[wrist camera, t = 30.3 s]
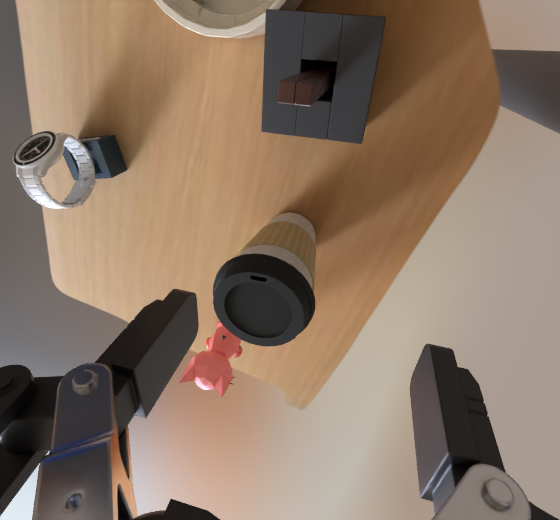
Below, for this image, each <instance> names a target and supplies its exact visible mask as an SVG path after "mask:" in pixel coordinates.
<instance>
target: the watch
mask: <svg viewBox="0 0 560 520" xmlns="http://www.w3.org/2000/svg"><path fill="white" fill-rule="evenodd" d="M62 155H63V156H64V158H65V160H66V163H67V165H68V167H69V169H70V172H71V174H72V176H73V179H74V180H76V182H75V184H74V187H73V189H72V190H71V192H70V193H69V195H68V196H67V197H66V198H65V201H63V202H62V203H60V202H58V201H57V200H55V199H54V198H52V196H51V195H50V194H49V193H48V192H46V189H45V187H44V185H43V184H41V183H42V180H41V177H44V176H45V175H46V173H47V171H48V169H49V168H50V167H52V166H53V165H54V164H55V163H56V162H57V161H58V160H59V159H60V158H61V156H62ZM13 162H14V164H15V165H16V173H17V177H19V179H20V182H21V184H22V185H23V187H24V189H25V191H26V192H27V193H28V195H29V196H30V197H31V198H32V199H33V200H35V201H36V202H37V203H39V204H41V205H43V206H45V207H48V208H54V209H57V208H74V207H77V206H79V205H82V204H83V203H84V202H85V201H86V200H87V199H88V197H89V196H90V194H91V192H92V190H93V188H94V185H95V183H96V180H95V179H102V178H112V177H114V176H116V175H118V174H120V173H122V172H124V171H126V170H127V168H126V166H125V163H124V160H123V157H122V154H121V151H120V149H119V146H118V143H117V140H116V137H115V135H108V136H98V137H89V138H79V139H76V138H75V137H74V136H72V135H69V134H66V133H58V134H55V133H54V132H52V131H44V132H40V133H37V134H35V135H33V136H31V137H29V138H28V139H27V140H25V141H24V142H23V143H22V144H21V145H20V146H19V147H18V148H17V150H16V151H15V153H14V156H13ZM40 176H41V177H40Z"/></svg>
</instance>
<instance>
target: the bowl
mask: <svg viewBox="0 0 560 520" xmlns="http://www.w3.org/2000/svg"><path fill="white" fill-rule="evenodd" d="M302 1H303V0H155V2H156V3H157V4H158V5H159V7H160V8H161V9H162V10H163V11H164V12H165V13H166V14H168V15H169V16H170V17H171V18H173V19H174V20H175V21H176V22H178V23H179V24H180V25H182V26H183V27H185V28H187V29H190V30H192V31H195V32H197V33H199V34H202V35H204V36H213V37H226V38H244V39H245V38H250V37H254V36H258V35H261V34H265V18H266V9H275V10H290V11H295V9H296V8H297V7H298V6H299V5H300V4H301V3H302Z"/></svg>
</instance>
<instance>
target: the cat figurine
mask: <svg viewBox="0 0 560 520" xmlns="http://www.w3.org/2000/svg"><path fill="white" fill-rule="evenodd" d="M240 342H241V341H240V338H238V337H236V336H235V335H233V334H232V333H231V332H230V331H228V330H227V329H226V328H225V327H224V326H223V324H222V323H221V322H219V323H218V324H217V330H216V331H215V333H214V334H213V336H212V337H210V338H207V341H206V347H207V348H208V351H202V352H200V353H198V354H196V355H195V356H194V357H193V359H192V360H191V361H190V362H189V364H188V366H187V368H186V370H185V372H184V374H183V376H182V378H181V380H180V383H181V382H187V381H193V380H195V382H196V384H197V385H198V386H199V387H200V388H202V389H203V390H211V389H216V390H217V392H218V393H219V394H220V395H221V397H222V396H223V395H224V393H225V391H226V389H227V388H228V386H229V384H232V383H230V382H231V381H232V379H233V375H232V368H231V366H230V363H229V361H228V359H229V358H230V357H232V356H233V355H234V353H235V352H236V353H235V358H236V357H239V356H240V355H241V353H242V348H241V346H239V345H240Z"/></svg>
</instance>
